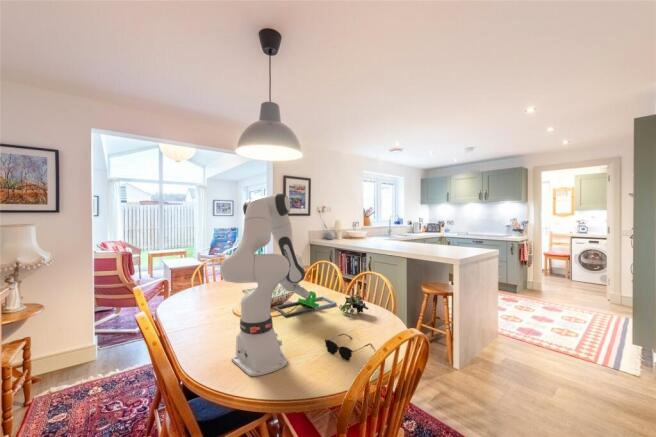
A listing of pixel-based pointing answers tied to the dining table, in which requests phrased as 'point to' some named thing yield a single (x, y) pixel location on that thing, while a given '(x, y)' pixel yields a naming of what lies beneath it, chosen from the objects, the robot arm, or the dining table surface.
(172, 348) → the dining table surface
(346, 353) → the sunglasses
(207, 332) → the dining table surface
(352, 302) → the green leafy plant
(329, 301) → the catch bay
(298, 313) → the seat frame
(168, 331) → the dining table surface
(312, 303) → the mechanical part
